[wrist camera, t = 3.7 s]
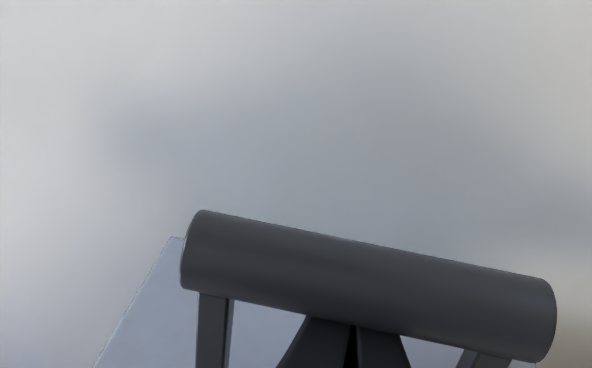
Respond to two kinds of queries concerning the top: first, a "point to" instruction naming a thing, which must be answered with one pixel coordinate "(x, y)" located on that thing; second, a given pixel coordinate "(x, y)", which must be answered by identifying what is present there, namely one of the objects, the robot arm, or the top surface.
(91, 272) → the top surface
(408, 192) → the top surface
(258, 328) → the grey drawer
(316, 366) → the robot arm
